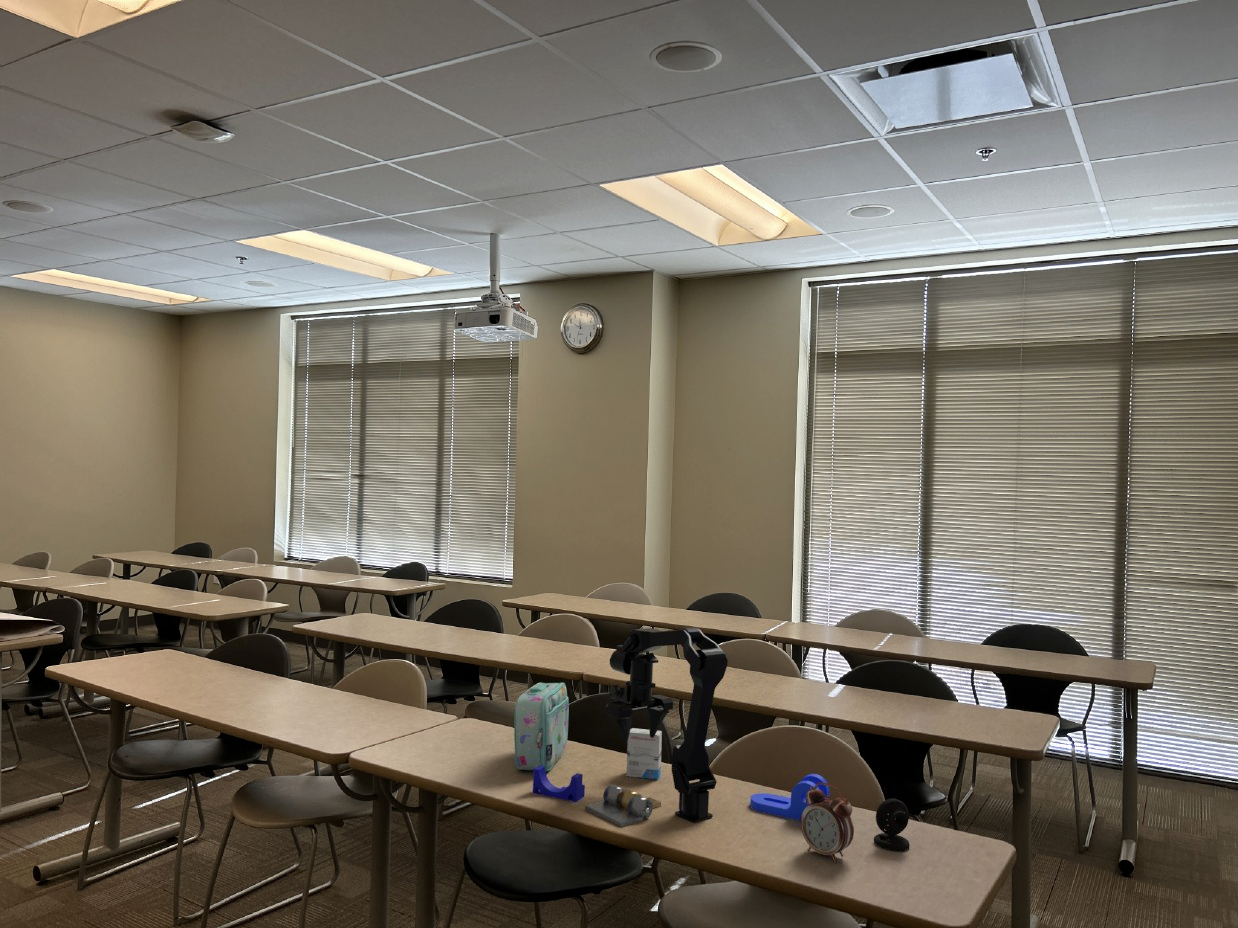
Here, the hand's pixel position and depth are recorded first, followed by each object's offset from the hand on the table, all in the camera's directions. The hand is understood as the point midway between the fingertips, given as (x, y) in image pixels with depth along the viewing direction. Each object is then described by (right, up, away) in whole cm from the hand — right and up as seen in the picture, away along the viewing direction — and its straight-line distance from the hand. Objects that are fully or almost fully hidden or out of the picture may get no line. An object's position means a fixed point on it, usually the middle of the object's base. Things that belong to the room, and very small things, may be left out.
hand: (638, 739), depth 222 cm
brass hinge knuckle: (0, -12, -15) cm, 19 cm away
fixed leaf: (-5, -11, -19) cm, 23 cm away
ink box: (+1, -13, +9) cm, 16 cm away
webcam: (+55, -14, -30) cm, 64 cm away
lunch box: (-26, -12, +17) cm, 33 cm away
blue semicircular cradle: (-20, -11, -8) cm, 24 cm away
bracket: (+35, -14, -12) cm, 40 cm away
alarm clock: (+39, -13, -38) cm, 56 cm away
